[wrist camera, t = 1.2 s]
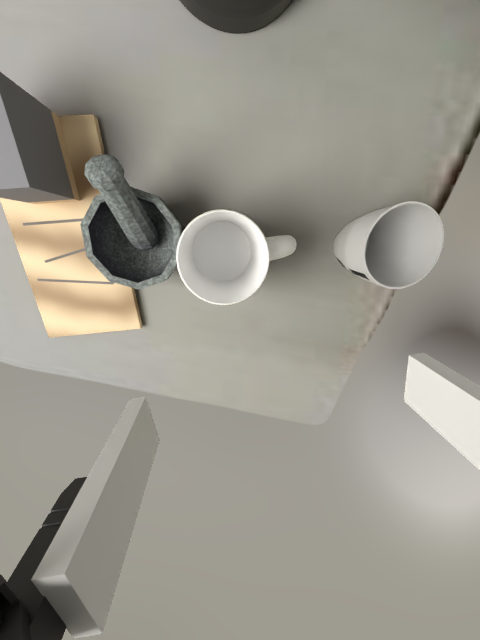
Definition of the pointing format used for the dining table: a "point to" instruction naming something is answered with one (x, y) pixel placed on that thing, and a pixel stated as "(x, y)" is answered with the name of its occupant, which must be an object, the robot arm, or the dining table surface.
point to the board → (70, 250)
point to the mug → (227, 256)
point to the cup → (392, 244)
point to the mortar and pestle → (127, 228)
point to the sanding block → (32, 150)
